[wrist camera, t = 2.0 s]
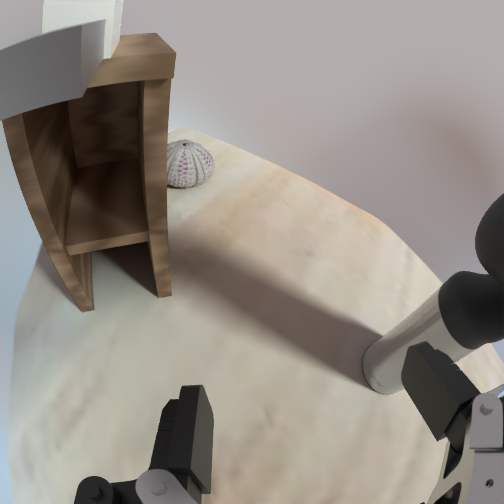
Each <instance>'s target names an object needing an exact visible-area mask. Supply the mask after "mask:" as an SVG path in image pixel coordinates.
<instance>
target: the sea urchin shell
mask: <svg viewBox="0 0 504 504" xmlns="http://www.w3.org/2000/svg"><path fill="white" fill-rule="evenodd" d="M213 168H214V160H213V157H212V156H211V155H210V153H209V152H208V151H207V150H206V149H205V148H204V147H202V146H201V145H199V144H198V143H197V144H196V143H194V142H192V141H190V140H186V139H185V140H179V141H177V142H171V143H170V144H167V185H172V186H174V187H180V188H181V187H186V188H187V187H189V188H190V187H192V186H197V185H200V184H202V183H204V182H205V181H207V180H208V179H209V178H210V176H212V172H213V171H214V170H213Z"/></svg>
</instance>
